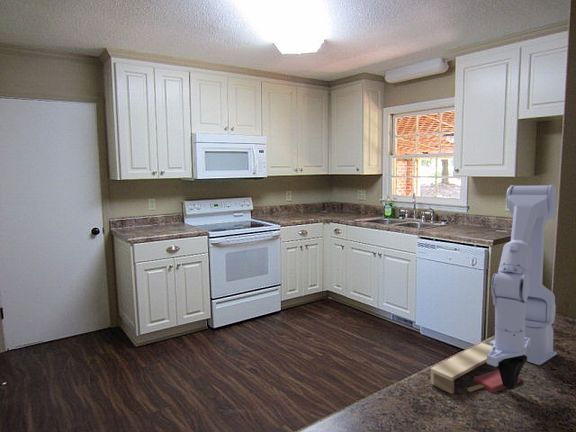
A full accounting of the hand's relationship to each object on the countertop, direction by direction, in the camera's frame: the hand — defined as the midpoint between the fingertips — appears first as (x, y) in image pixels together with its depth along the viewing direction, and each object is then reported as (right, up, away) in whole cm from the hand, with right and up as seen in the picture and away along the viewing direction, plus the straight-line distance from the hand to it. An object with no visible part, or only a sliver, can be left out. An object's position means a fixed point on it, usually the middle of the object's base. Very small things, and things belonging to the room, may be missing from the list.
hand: (509, 386), depth 90 cm
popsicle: (-2, -1, +3) cm, 4 cm away
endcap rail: (-5, 0, +8) cm, 10 cm away
